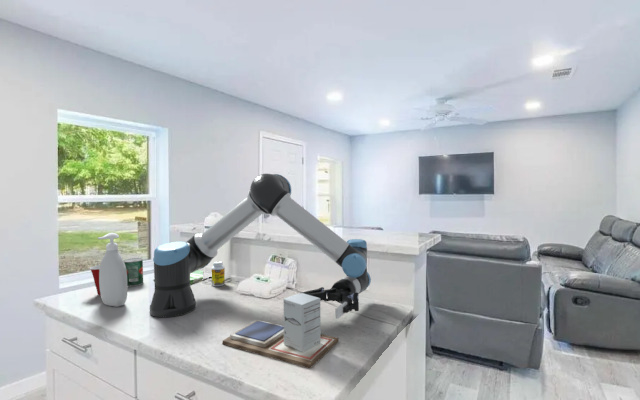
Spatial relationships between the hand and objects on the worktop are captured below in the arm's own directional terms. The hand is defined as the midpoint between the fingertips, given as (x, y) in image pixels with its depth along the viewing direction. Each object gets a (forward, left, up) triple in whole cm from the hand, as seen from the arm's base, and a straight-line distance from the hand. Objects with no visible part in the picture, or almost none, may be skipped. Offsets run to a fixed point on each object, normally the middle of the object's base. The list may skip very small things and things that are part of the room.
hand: (315, 309), depth 98 cm
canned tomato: (-100, +11, -8) cm, 101 cm away
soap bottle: (-81, -10, -8) cm, 82 cm away
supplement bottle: (-64, +27, -8) cm, 70 cm away
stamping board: (-7, -7, -8) cm, 13 cm away
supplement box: (0, -7, -7) cm, 10 cm away
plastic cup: (-97, -3, -8) cm, 98 cm away
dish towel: (-84, +27, -9) cm, 89 cm away
